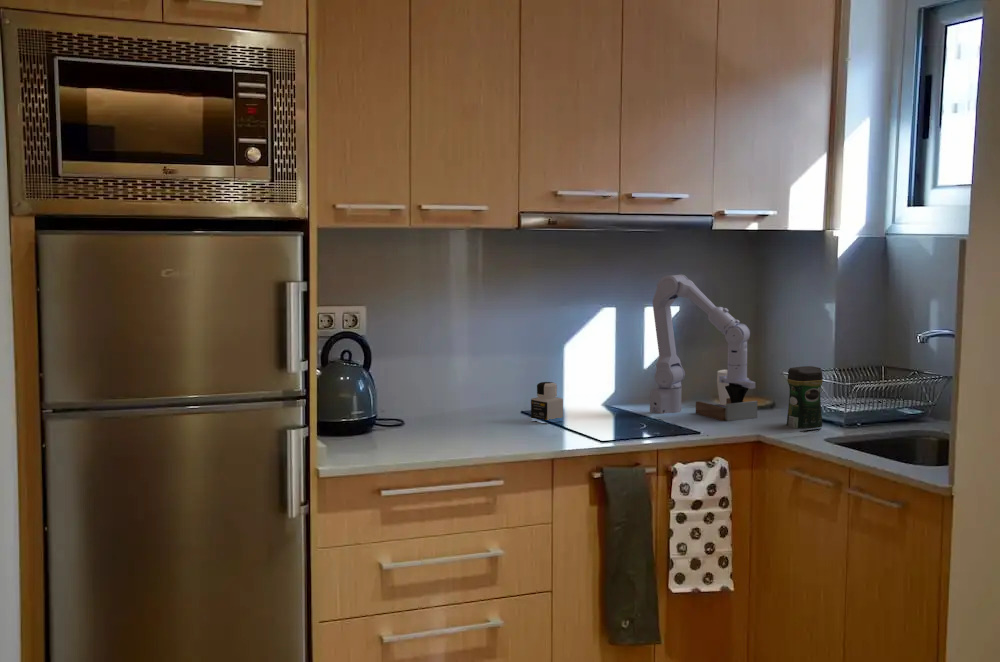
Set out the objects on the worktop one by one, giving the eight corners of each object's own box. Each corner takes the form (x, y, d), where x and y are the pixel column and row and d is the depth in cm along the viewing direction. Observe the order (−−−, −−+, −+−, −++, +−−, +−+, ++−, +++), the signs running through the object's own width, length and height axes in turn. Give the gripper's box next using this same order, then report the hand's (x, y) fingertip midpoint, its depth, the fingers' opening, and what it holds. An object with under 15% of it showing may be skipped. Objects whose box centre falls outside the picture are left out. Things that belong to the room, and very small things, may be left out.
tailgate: (727, 422, 292) (727, 404, 291) (725, 421, 293) (725, 404, 292) (757, 418, 297) (757, 401, 296) (755, 418, 298) (755, 400, 297)
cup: (728, 404, 326) (728, 368, 324) (750, 408, 319) (751, 371, 318) (710, 407, 320) (711, 371, 319) (733, 411, 313) (734, 374, 312)
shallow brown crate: (722, 424, 293) (722, 408, 292) (695, 417, 304) (695, 401, 304) (756, 420, 298) (756, 404, 298) (729, 413, 310) (729, 398, 309)
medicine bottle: (530, 421, 301) (530, 382, 300) (547, 418, 306) (546, 380, 304) (547, 424, 296) (546, 385, 294) (563, 421, 300) (563, 382, 299)
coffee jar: (809, 425, 290) (811, 363, 288) (826, 431, 283) (828, 367, 281) (781, 428, 287) (782, 365, 285) (797, 433, 280) (799, 369, 278)
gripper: (763, 366, 290) (763, 411, 292) (732, 360, 303) (731, 404, 305) (745, 368, 287) (744, 414, 289) (713, 362, 300) (713, 406, 302)
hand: (736, 409), depth 296 cm, fingers closed
